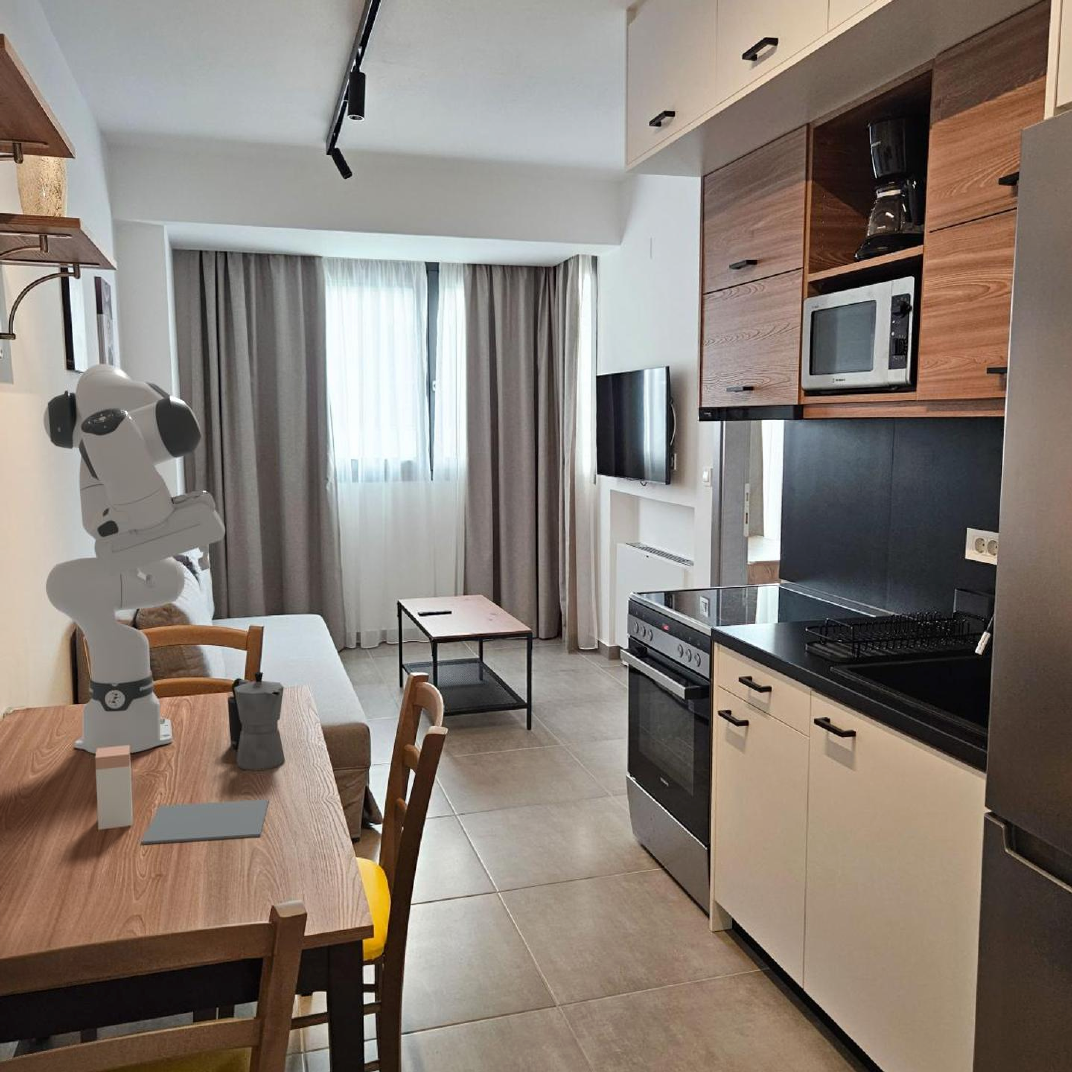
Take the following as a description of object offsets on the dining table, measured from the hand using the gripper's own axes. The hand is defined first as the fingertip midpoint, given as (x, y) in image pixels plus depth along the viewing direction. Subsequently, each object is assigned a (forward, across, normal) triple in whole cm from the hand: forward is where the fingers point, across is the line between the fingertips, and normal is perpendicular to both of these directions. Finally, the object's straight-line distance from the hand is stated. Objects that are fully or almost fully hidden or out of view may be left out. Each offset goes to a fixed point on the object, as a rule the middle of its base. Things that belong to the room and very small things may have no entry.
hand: (178, 577), depth 165 cm
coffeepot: (+46, +3, -6) cm, 46 cm away
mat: (+34, +8, +22) cm, 41 cm away
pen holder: (+49, +5, -16) cm, 52 cm away
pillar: (+30, +22, +17) cm, 41 cm away
